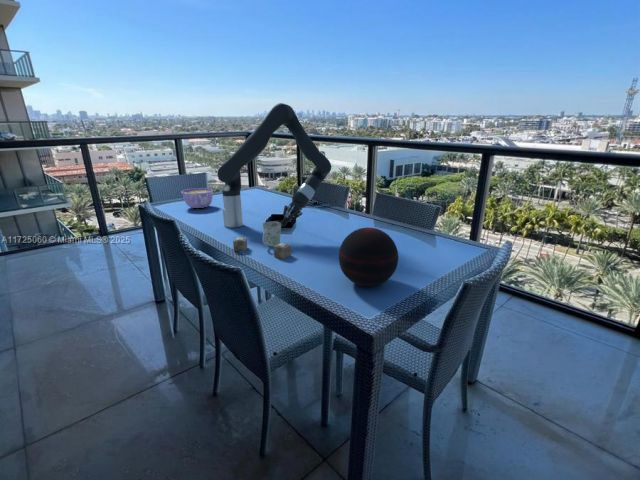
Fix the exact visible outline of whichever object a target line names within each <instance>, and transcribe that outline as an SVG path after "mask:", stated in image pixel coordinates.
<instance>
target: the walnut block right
mask: <svg viewBox="0 0 640 480" xmlns="http://www.w3.org/2000/svg"><path fill="white" fill-rule="evenodd" d="M291 248H292V247H291V244H290V243H284V242H280V243H279V244H277V245H275V246H274V247H273V254H274V255H273V256H274V258H277V259H281V260H286V259H287V258H289V257H291V256H292V249H291Z"/></svg>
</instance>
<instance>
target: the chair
mask: <svg viewBox="0 0 640 480" xmlns="http://www.w3.org/2000/svg"><path fill="white" fill-rule="evenodd" d="M311 173H312V172H307V173H302V175H301V185H302V184H303V183H304V182H305V180H306V179H307V178H308V177H305V176H310V174H311ZM301 185H300V186H301ZM300 186H299V185H298V186H297V185H294V186H293V187H292V190H291V191H292V193H291V195H292V197H293V196H294V194H295V189H296V190H298V189H299V188H300ZM311 200H312V201H311V202H312V203H308V204H307V205H309V206H311V205H310V204H313V203H314V202H313V201H315V200H314V199H311Z"/></svg>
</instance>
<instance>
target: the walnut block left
mask: <svg viewBox="0 0 640 480" xmlns="http://www.w3.org/2000/svg"><path fill="white" fill-rule="evenodd" d="M232 244H233V252H234V253H236V252H235V251H246V252H247V250H248V239H247V237H246V236H245V237H244V236H243V237H242V236H241V237H240V236H239V237H234V239H233V241H232ZM246 249H247V250H246Z"/></svg>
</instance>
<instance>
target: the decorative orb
mask: <svg viewBox="0 0 640 480" xmlns="http://www.w3.org/2000/svg"><path fill="white" fill-rule="evenodd" d="M398 264H399V251H398V248H397V245H396V243H395V241H394V240H393V239H392V237H391V236H390V235H389V234H388V233H386V232H385V231H384V230H381V229H379V228H375V227H362V228H358V229H355V230H353V231H352V232H350V233H349V234H348V235H346V237H344V240H343V241H342V243H341V244H340V247H339V251H338V265H339V267H340V269H341V271H342V273H343V275H344V276H345V277H346V278H347V279H348V280H349V281H350V282H352V283H353V284H356V285H358V286H359V287H360V286H361V287H366V288H368V287H370V288H371V287H377V286H379V285H383V284H384V283H386V282H387V281H388V280H389V279H390V278H391V277H392V276H393V275H394V273H395V272H396V269H397V267H398Z"/></svg>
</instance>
